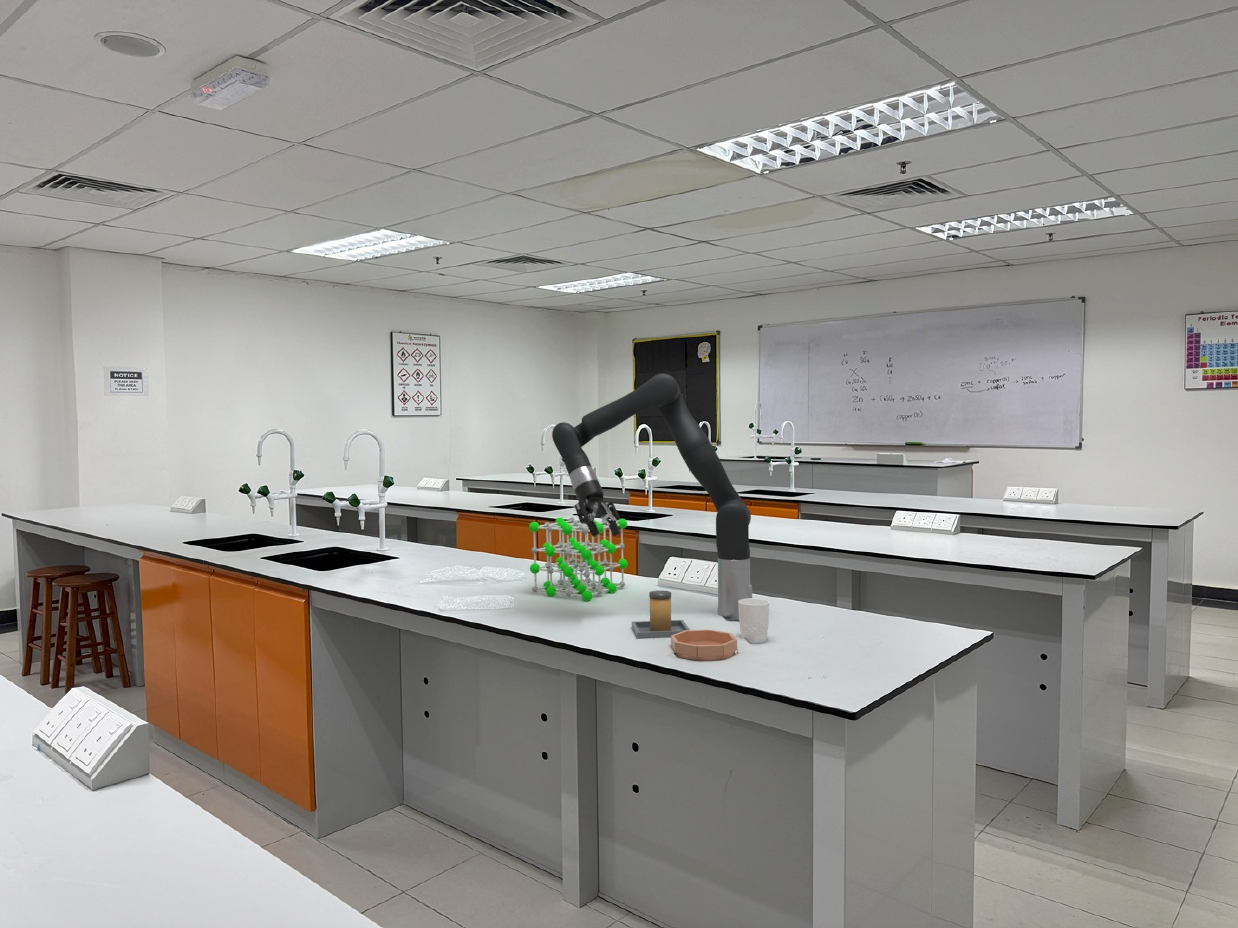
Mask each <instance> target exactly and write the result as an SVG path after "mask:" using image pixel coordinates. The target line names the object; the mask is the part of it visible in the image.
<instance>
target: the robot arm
mask: <svg viewBox="0 0 1238 928" xmlns="http://www.w3.org/2000/svg"><path fill="white" fill-rule="evenodd" d="M682 395H683V394H682V393H681V389H680V386H679V384H678V382H677V380H676V379H675V378H674V377H673V376H672V375H670V374H668V373H658V374H656V375H654V376H652V377H651V378H650V379H649V380H647V381H646V382H644V383H643V384H641V385H640V386H639V387H637V388H636V389H634V390H633V391H631V392H629V393H627V394H626V395H624V396H622V397H619V398H618V399H616V400H613V401H611V402H610V403H607V404H606V405H603V406H601V407H598V408H596V409H595V410H593V411H590V412H588V413H586V414H585V415H583V416H582V417H581V422H580V423H579V424H577V425H576V426H573V425H572V424H571V423H568V422H559V423H557V424H556V425H555V426H554V427H553V429H552V431H551V438H552V441H553V443H554V446H555V447H556V449H557V452H558V453H559V455H560V457H561V458H562V460H563V463H564V466H565V469H566V471H567V474H568V476H569V479H570V483H571V486H572V488H573V491H574V493H575V496H576V498H577V501H578V502H577V503H576V504H575V505H574V509H575V511H576V515H577V518H578V520H580V522H581V523H585V524H586V525H588V528H589V529H588V530H590V532H589V533H590V534H591V537H592V536H593V537H594V538H596V537H598V534H599V531H598V528H597V526H596V523H595V522H593V521H594V520H595V519H596V518H597V519H598V518H599V519H601V521H602V520H603V521H606V522H607V523H608V524H609V527H610V530H611V535H612V537H617V536H619V535H621V529H620V528H619V527H618V526H617V522H618V520H619V519H621V517H620V515H619V513H618V510H617V508H616V506H615V504H614V502H613V501H612V500H611V501H609V502H605V500H604V495H605V492H604V490H603V488H602V486H601V483H600V481H599V479H598V476H597V474H596V472H595V470H594V468H593V467H592V463H591V462H590V459H589V457H588V455H587V453H586V452H585V451H584V449H583V447H584V446H585V445H587V443H588V444H589V442H591V441H592V440H593V439H594V438H595V437H598V436H600V435H602V434H603V433H606V432H609V431H610V430H612V429H614V428H615V427H617V426H618V425H621V424H622V423H623V422H625V421H627V420H628V419H630V418H632V417H634V416H635V415H637V414H638V413H641V412H643V411H646V410H648V409H650V408H654V407H656V409H657V410H658V412H659V413H660V414H661V416H662V418H663V419H664V420H665V422H666V424H667V426H668V428H669V430H670V432H671V434H672V437H673V441H674V442H675V446H676V448H677V451H679V452H678V453H679V454H680V456H681V458H682V459H683V461H684V463H685V464H686V467H687V468H688V470H689V471H690V473H691V474H692V475H693V477H694V478H695V479H696V480H697V482H698V483H699V484H700V485H701V487H703V489H704V490H705V491H706V492H707V494H708V496H709V497H710V499H711V501H712V503H713V505H714V509H716V512H717V513H716V517H715V536H716V537H715V538H716V539H715V540H716V541H715V545H716V546H715V547H716V550H717V614H718V616H720V617H721V618H722V617H723V619H724V620H727V621H739V607H738V601H739V600H741V599H748V598H753V585H752V584H751V549H750V540H749V539H750V538H749V535H750V534H749V529H750V527H749V525H750V524H751V519H752V518H751V517H752V516H751V515H752V514H751V511H750V508H749V507H748V505H747V504H746V503H745V501H744V500H743V499H742V497H741V496H740V495H739V493H738V492H737V490H736V489H735V487H734V485H733V484H732V483H731V481H730V478H729V477H728V475H727V471H726V470H725V467H724V466H723V463H722V462H721V459H720V457H719V456H718V453H717V452H716V450H715V448H714V446H713V444H712V443H711V441H710V438H708V436H707V435H706V433H705V432H704V430H703V429H702V427H701V426H700V425H699V424H698V422H697V421H696V420H695V418H694V417H693V415H692V414H691V412H690V410H689V409H688V407H687V404H686V401H684V400H685V399H684V397H683V396H682Z"/></svg>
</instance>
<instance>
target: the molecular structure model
mask: <svg viewBox="0 0 1238 928" xmlns="http://www.w3.org/2000/svg"><path fill="white" fill-rule="evenodd" d="M593 522H595V523H596V526H597V528H598V531H599V534H598V535H597V542H595V537H593V536H592V535H591V541H590V540H589V533H590V530H589V528H588V525H586V524H585V523H581V522H580V520H579V519H575V518H574V517H570V518H569V519H568V520H565V518H563V517H557V518H556V519H555V521H554V522H553V523H550V522H549V521H546V522H545V523H544V524H541V525H539V523H538V521H537V522H536V521H532V522H530V523H529V525H528V529H529V531H530V532H532V533H533V535H532V537H533V547H532V548H531V553H532V554H533V563H531V565H530V566H529V571H530V573H531V574H534V575H533V576H534V586H533V587H532V589H531V590H532V592H533V593H537V592H539V593H546V596H548V597H554V596H555V595H563V596H565V595H566V597H569V598H570V597H572V596H574V597H580V598H582V599H583V601H585V602H589V601H591V600H592V599H593V596H595V595H598V596H600V595H602V593H604V592H608V593H610V594H614V593H616V592H617V588H624V587H625V586H626V583H625V581H624V577H625V576H624V575H625V574H624V569H626V568H627V567H628V565H629V564H628V561H627V559H626V558H624V549H625V547H626V546H625V544H624V537H623V536H624V532H623V531H624V529H625V528H627V526H628V521H627V520H626V519H625V518H620V519H619V520H618V521H616V523H617V526H618V528H619V529H620V543H618V544H614V543H612V542H613V541H612V532H611V530H610V527H609V524H608V523H607V522H606V521H603V520H602V519H601V521H600V520H598V521H597V520H595V519H594V521H593ZM539 529H541V530H545V531H546V532H545V537H546V538H545V539H546V542H544V544H543V545H542V547H541V548H537V546H536V544H537V543H536V540H537V539H536V532H538V531H539ZM606 529H608V531H609V540H608V539H606V537H607V536H606ZM553 531H558V533H559V534H558V536H559V537H558V539H559V540H558V542H557V544H556V545H553V544H552V532H553ZM577 532H579V541H578V539H577ZM602 533H603V539H601V540H600V537H601V536H600V534H602ZM582 534H584V541H583V540H582V539H583V538H582ZM565 535H566V543H565ZM570 535H571V537H570ZM617 549H621V550H620V551H621V554H620V555H621V556H620V557H621V558H620V559H619V560H618V561H617V562H613V554H614V553H616V550H617ZM538 552H541V553H544V554H545V555H546V563H545V565H543V566H542V565H541V566H540V564H538V563H537V553H538ZM602 553H603V560H602V561H601V554H602ZM555 554H559V557H557V558H556V559H555V563H552V561H553V559H552V557H554V556H555ZM607 554H609V562H608V560H607ZM595 555H597V560H595ZM565 556H566V559H565ZM578 556H579V558H578ZM545 568H546V569H545ZM554 568H556V569H554ZM615 568H619V569H621V581H619V583H615V582H613V570H615ZM607 570H608V571H609V574H610V575H609V576H610V577H609V578H608V577H607ZM540 571H543V572H546V577H547V578H546V579H547V580H546V581H544V583H543V587H542V586H541V587H538V586H537V584H538V583H537V582H538V581H537V574H538V573H539V572H540ZM578 571H579V572H578ZM553 573H559V579H558V581H557V583H553ZM591 574H592V580H591V578H590V576H591ZM578 575H579V576H580V578H579V576H578ZM602 575H603V576H604V577H602V578H601V576H602ZM596 576H597V577H598V580H597V581H596V579H595V577H596ZM583 577H584V578H585V579H583ZM566 578H567V580H566ZM590 583H591V584H590ZM590 589H592V590H590ZM594 589H595V590H594ZM560 591H566V592H560ZM572 591H573V592H572Z"/></svg>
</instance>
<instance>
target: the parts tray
mask: <svg viewBox="0 0 1238 928" xmlns="http://www.w3.org/2000/svg"><path fill="white" fill-rule="evenodd" d="M631 629H632V632H634V636H635V637H636V639H637V640H640V639H641V640H642V639H643V640H644V639H645V640H646V639H663V638H664V639H665V638H666V639H667V638H670V639H671V635H674V634H677V633H680V632H682V631H686V630H691V629H690V627H689V626H688V625H687V623H686V622H685V621H684V620H683V619H675V620H673V619H671V631H651V632H650V620H646V621H645V620H644V621H640V620H639V621H631Z"/></svg>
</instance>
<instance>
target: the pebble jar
mask: <svg viewBox="0 0 1238 928" xmlns="http://www.w3.org/2000/svg"><path fill="white" fill-rule="evenodd" d="M648 598H649V621H650V632H651V631H671V620H672V592H671V591H669V590H652V591H650V592H649V593H648Z"/></svg>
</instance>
